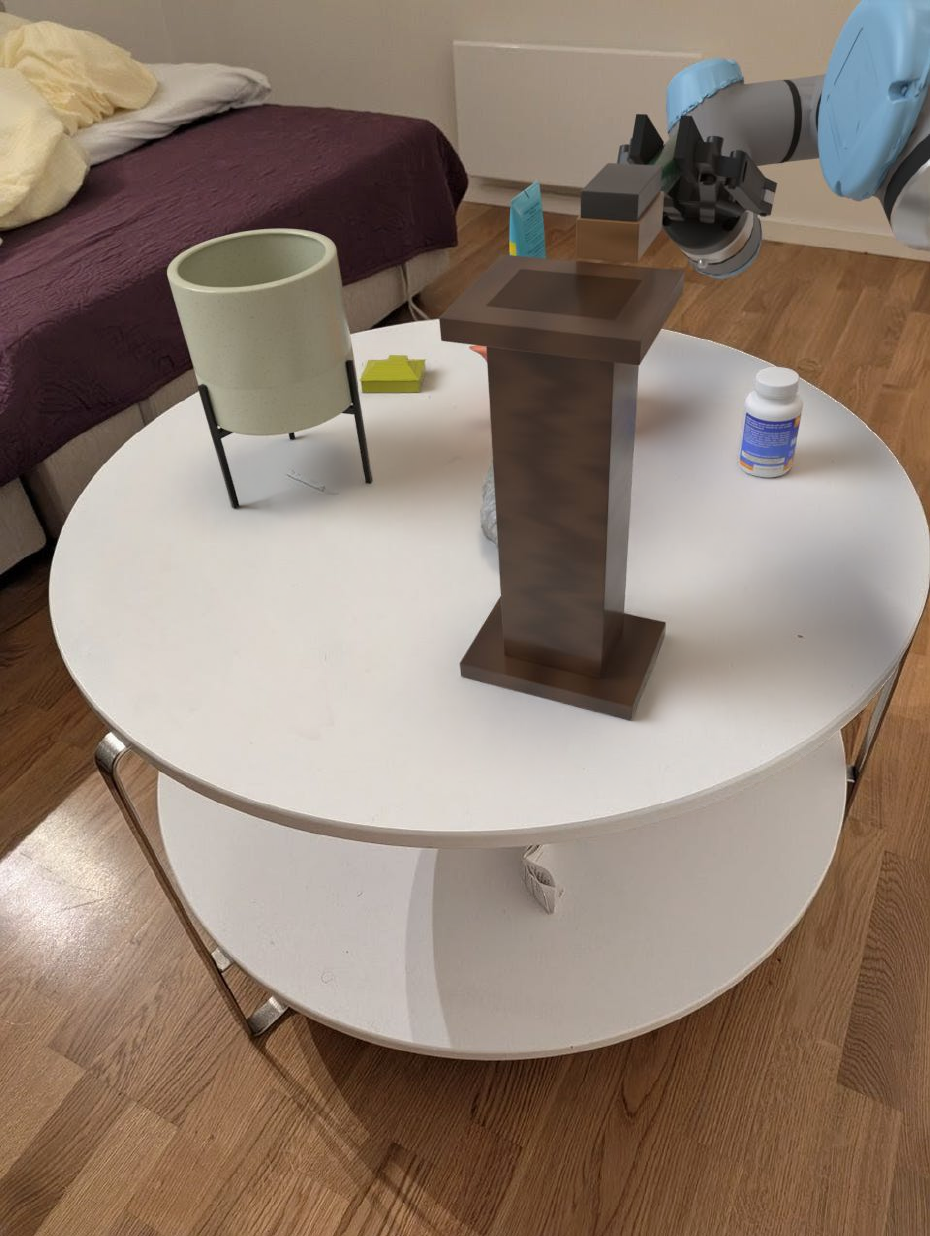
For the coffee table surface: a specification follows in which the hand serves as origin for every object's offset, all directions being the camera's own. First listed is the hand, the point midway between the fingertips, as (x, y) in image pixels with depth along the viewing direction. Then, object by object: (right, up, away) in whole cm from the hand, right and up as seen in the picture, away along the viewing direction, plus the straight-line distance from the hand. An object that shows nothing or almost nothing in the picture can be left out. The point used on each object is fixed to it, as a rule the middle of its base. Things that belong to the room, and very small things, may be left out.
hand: (660, 136), depth 63 cm
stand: (-5, -36, +11) cm, 38 cm away
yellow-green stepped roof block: (-22, -4, +49) cm, 54 cm away
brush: (0, -4, +1) cm, 4 cm away
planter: (-31, -18, +35) cm, 50 cm away
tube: (-5, +1, +53) cm, 53 cm away
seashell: (-9, -25, +25) cm, 36 cm away
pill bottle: (+17, -18, +30) cm, 39 cm away
